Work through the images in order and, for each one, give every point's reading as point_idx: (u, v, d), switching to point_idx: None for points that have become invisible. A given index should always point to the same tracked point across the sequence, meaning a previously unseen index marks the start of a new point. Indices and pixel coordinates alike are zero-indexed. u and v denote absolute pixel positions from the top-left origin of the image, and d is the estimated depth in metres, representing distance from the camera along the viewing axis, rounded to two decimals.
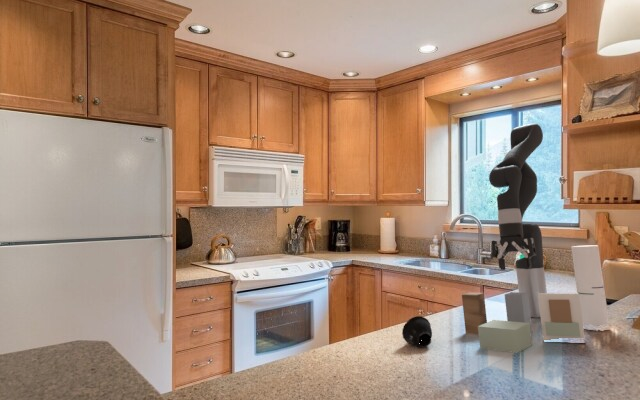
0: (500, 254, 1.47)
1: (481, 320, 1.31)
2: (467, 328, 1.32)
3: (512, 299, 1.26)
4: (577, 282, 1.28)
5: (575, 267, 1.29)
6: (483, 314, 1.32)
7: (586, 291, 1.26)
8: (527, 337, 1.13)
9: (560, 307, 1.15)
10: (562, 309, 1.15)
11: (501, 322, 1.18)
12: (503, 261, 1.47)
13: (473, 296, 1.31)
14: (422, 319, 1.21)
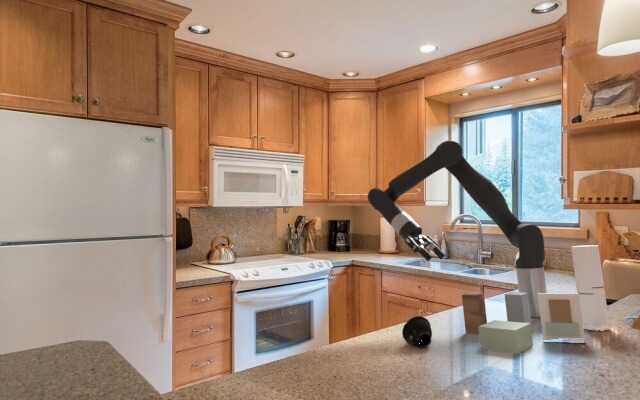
0: None
1: (481, 320, 1.31)
2: (467, 328, 1.32)
3: (512, 299, 1.26)
4: (577, 282, 1.28)
5: (575, 267, 1.29)
6: (483, 314, 1.32)
7: (586, 291, 1.26)
8: (528, 338, 1.12)
9: (560, 307, 1.15)
10: (562, 309, 1.15)
11: (502, 322, 1.17)
12: (437, 252, 1.48)
13: (473, 296, 1.31)
14: (422, 319, 1.21)
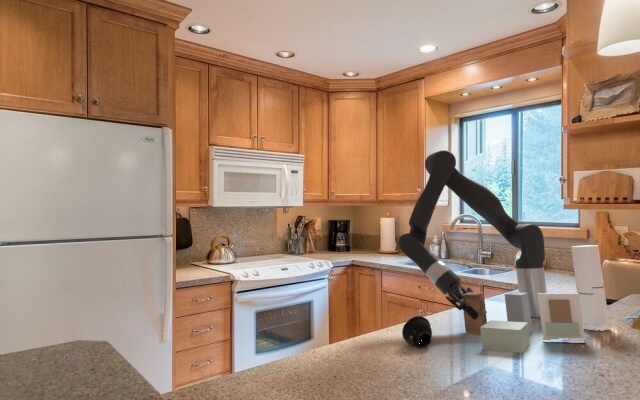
0: None
1: (481, 320, 1.31)
2: (467, 328, 1.32)
3: (512, 299, 1.26)
4: (577, 282, 1.28)
5: (575, 267, 1.29)
6: (483, 313, 1.32)
7: (586, 291, 1.26)
8: (527, 337, 1.13)
9: (560, 307, 1.15)
10: (562, 309, 1.15)
11: (500, 322, 1.17)
12: None
13: (473, 296, 1.31)
14: (422, 319, 1.21)
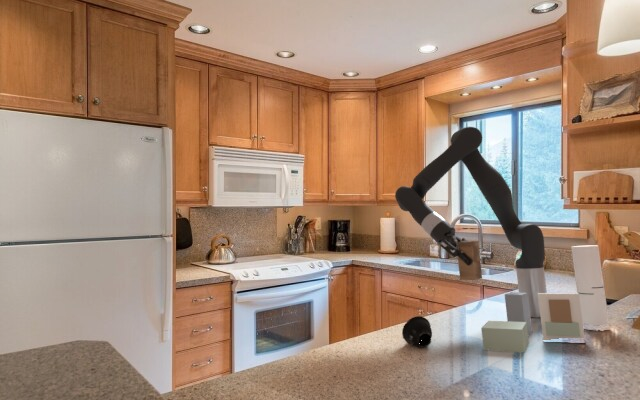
0: None
1: (475, 266, 1.32)
2: (461, 275, 1.34)
3: (512, 299, 1.26)
4: (577, 282, 1.28)
5: (575, 267, 1.29)
6: (477, 260, 1.34)
7: (586, 291, 1.26)
8: (526, 336, 1.13)
9: (560, 307, 1.15)
10: (562, 309, 1.15)
11: (499, 322, 1.17)
12: None
13: (467, 243, 1.33)
14: (422, 319, 1.21)
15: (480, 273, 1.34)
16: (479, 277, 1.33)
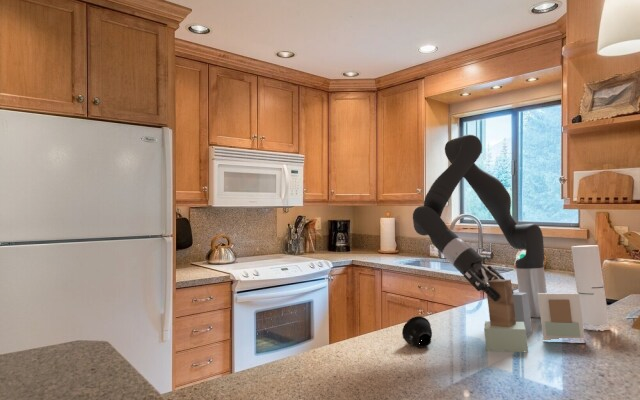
0: None
1: (509, 310, 1.13)
2: (492, 320, 1.15)
3: None
4: (577, 282, 1.28)
5: (575, 267, 1.29)
6: (511, 303, 1.15)
7: (586, 291, 1.26)
8: None
9: (560, 307, 1.15)
10: (562, 309, 1.15)
11: None
12: None
13: (499, 283, 1.14)
14: (422, 319, 1.21)
15: (514, 318, 1.15)
16: (513, 323, 1.14)
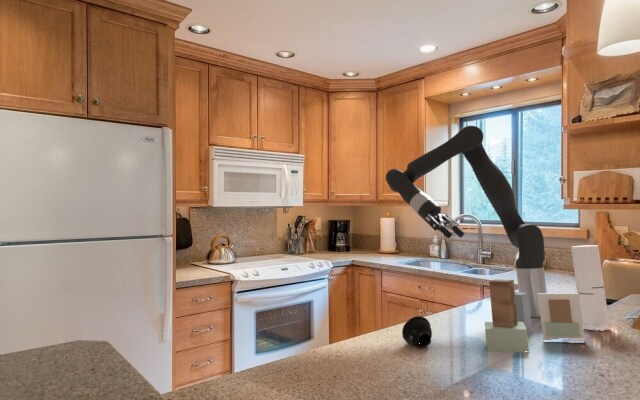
0: None
1: (512, 310, 1.12)
2: (495, 320, 1.13)
3: None
4: (577, 282, 1.28)
5: (575, 267, 1.29)
6: (513, 303, 1.14)
7: (586, 291, 1.26)
8: None
9: (560, 307, 1.15)
10: (562, 309, 1.15)
11: None
12: (456, 230, 1.49)
13: (504, 283, 1.12)
14: (422, 319, 1.21)
15: (516, 318, 1.14)
16: (515, 323, 1.13)
